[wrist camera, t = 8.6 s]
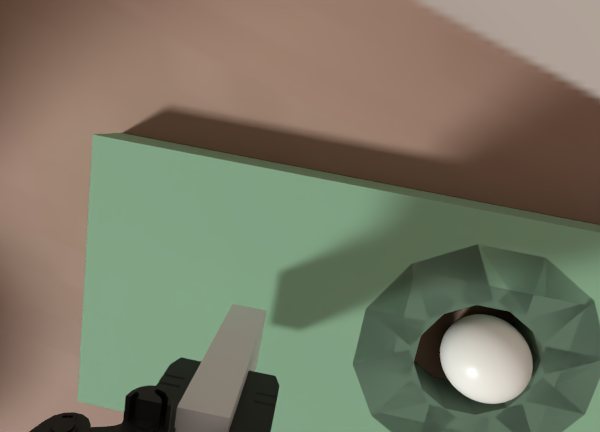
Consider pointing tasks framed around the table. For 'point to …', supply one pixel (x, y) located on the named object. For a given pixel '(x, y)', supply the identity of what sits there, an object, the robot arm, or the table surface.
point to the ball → (486, 359)
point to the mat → (329, 289)
